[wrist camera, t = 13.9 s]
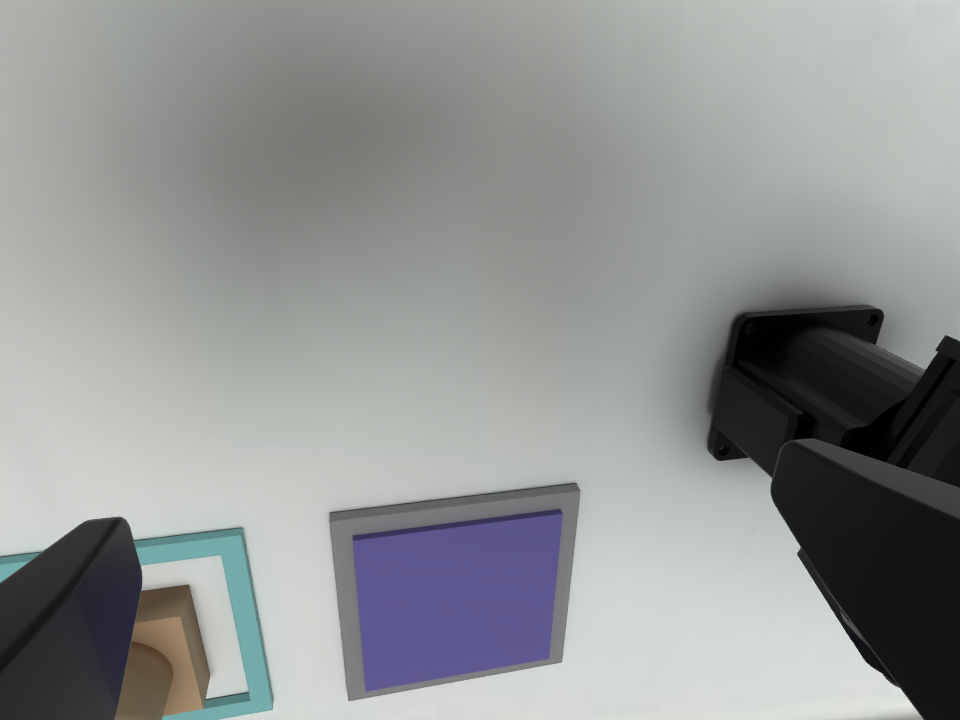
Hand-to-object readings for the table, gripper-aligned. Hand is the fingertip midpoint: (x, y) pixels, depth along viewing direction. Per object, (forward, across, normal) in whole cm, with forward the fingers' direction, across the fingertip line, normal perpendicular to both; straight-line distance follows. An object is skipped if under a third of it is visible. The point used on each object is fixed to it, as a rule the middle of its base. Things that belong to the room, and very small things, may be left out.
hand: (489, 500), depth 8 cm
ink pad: (+13, -2, +15) cm, 20 cm away
